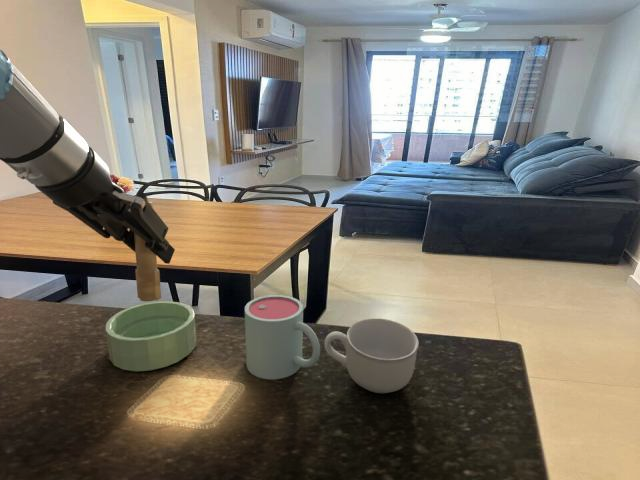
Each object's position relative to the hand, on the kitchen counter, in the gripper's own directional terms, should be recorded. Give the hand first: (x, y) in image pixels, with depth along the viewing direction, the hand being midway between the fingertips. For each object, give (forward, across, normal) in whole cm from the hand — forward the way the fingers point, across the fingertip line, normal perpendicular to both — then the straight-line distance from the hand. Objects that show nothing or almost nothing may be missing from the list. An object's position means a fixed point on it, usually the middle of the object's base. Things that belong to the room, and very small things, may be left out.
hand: (160, 255), depth 65 cm
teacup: (+10, +37, -13) cm, 40 cm away
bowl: (+9, 0, -14) cm, 17 cm away
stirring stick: (+2, 0, -7) cm, 7 cm away
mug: (+10, +23, -13) cm, 28 cm away
